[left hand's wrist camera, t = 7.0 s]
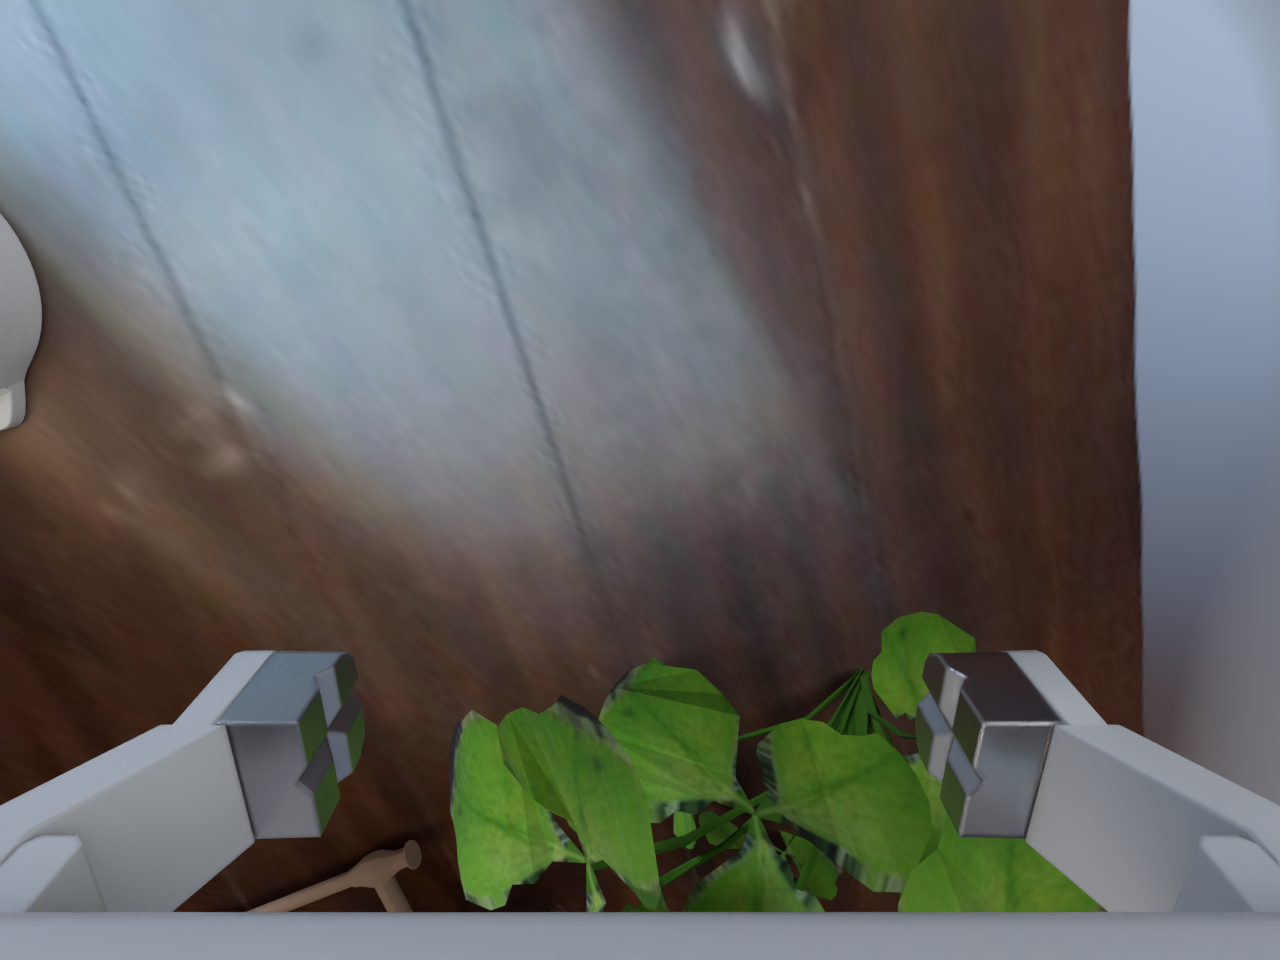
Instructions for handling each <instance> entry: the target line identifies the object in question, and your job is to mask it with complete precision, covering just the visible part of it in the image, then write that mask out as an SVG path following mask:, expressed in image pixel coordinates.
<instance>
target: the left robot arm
mask: <svg viewBox="0 0 1280 960" xmlns="http://www.w3.org/2000/svg"><path fill="white" fill-rule="evenodd" d="M41 327H42V305H41V297H40V291H39V287H38V283H37V279H36V276H35V273H34V270H33V267H32V265H31V262H30V260H29V258H28V256H27V253H26V251H25V250H24V248H23V246H22V244H21V242H20V240H19V239H18V237H17V235H16V234H15V232H14V231H13V229H12V228H11V226H10V225H9V224H8V222H7V221H6V220H5V218H4V217H3V216H2V215H1V213H0V430H4V429H9V428H13V427H16V426H18V425H20V424H21V423H22V422H23V420H24V417H25V411H26V397H25V383H24V380H25V376H26V372H27V370H28V367H29V365H30V363H31V361H32V359H33V356H34V354H35V352H36V349H37V346H38V343H39V339H40V334H41ZM357 679H358V675H357V670H356V665H355V660H354V657H352V656H351V655H350V654H349V653H348V652H317V651H278V652H277V651H242V652H239V653H236V654H234V655H233V656H232V658H231V659H230V660H229V661H228V662H227V663H226V664H225V666H224V667H223V668H222V669H221V670H220V671H219V672H218V674H217V675H216V676H215V677H214V678H213V679H212V680H211V682H210V683H209V684H208V685H207V686H206V687H205V688H204V689H203V691H202V692H201V693H200V694H199V695H198V696H197V697H196V699H195V700H194V701H193V702H192V703H191V704H190V705H189V707H188V708H187V709H186V710H185V711H184V712H183V713H182V714H181V716H180V717H179V718H178V719H177V720H176V721H175V722H174V724H173V725H160V726H158V727H156V728H154V729H152V730H150V731H148V732H146V733H144V734H142V735H140V736H138V737H136V738H134V739H132V740H130V741H128V742H126V743H124V744H122V745H120V746H118V747H116V748H114V749H112V750H110V751H108V752H106V753H104V754H102V755H100V756H98V757H96V758H94V759H92V760H90V761H88V762H86V763H84V764H82V765H80V766H78V767H76V768H74V769H72V770H70V771H68V772H66V773H64V774H62V775H60V776H58V777H56V778H54V779H52V780H50V781H48V782H46V783H44V784H42V785H40V786H38V787H36V788H34V789H32V790H30V791H29V792H27V793H25V794H23V795H21V796H19V797H17V798H15V799H13V800H11V801H9V802H7V803H5V804H3V805H1V806H0V960H1280V806H1279V805H1277V804H1275V803H1273V802H1271V801H1269V800H1267V799H1265V798H1263V797H1261V796H1259V795H1257V794H1255V793H1253V792H1251V791H1249V790H1247V789H1245V788H1243V787H1241V786H1239V785H1237V784H1235V783H1233V782H1231V781H1229V780H1227V779H1225V778H1223V777H1221V776H1219V775H1217V774H1215V773H1213V772H1212V771H1209V770H1208V769H1206V768H1204V767H1202V766H1200V765H1198V764H1196V763H1194V762H1192V761H1190V760H1188V759H1186V758H1184V757H1182V756H1180V755H1178V754H1176V753H1174V752H1172V751H1170V750H1168V749H1166V748H1164V747H1162V746H1160V745H1158V744H1156V743H1154V742H1152V741H1150V740H1148V739H1146V738H1144V737H1142V736H1140V735H1138V734H1136V733H1134V732H1132V731H1130V730H1128V729H1126V728H1124V727H1122V726H1120V725H1107V724H1106V722H1105V721H1104V720H1103V719H1102V718H1101V717H1100V716H1099V715H1098V713H1097V712H1096V711H1095V710H1094V709H1093V708H1092V707H1091V705H1090V704H1089V703H1088V702H1087V701H1086V700H1085V699H1084V697H1083V696H1082V695H1081V694H1080V693H1079V692H1078V691H1077V689H1076V688H1075V687H1074V686H1073V685H1072V684H1071V683H1070V682H1069V680H1068V679H1067V678H1066V677H1065V676H1064V675H1063V674H1062V672H1061V671H1060V670H1059V669H1058V668H1057V667H1056V666H1055V664H1054V663H1053V662H1052V661H1051V660H1050V659H1049V658H1048V657H1047V655H1046V654H1044V653H1042V652H1040V651H1038V650H1024V651H1001V652H968V653H929V655H928V657H927V659H926V661H925V663H924V669H923V674H922V679H923V681H924V682H925V684H926V686H927V688H928V689H929V691H930V692H929V693H928V694H927V695H926V696H925V697H924V698H923V699H922V700H921V701H920V702H919V703H918V704H917V711H916V719H915V731H916V743H917V747H918V750H919V754H920V757H921V760H922V762H923V764H924V766H925V768H926V771H927V772H928V773H929V774H930V775H932V776H933V777H935V778H936V779H938V780H939V781H940V782H942V787H941V792H940V799H941V801H942V803H943V805H944V807H945V809H946V811H947V813H948V815H949V817H950V819H951V821H952V823H953V825H954V827H955V829H956V831H957V833H958V835H959V837H980V838H1016V839H1026V840H1025V842H1026V843H1027V844H1028V845H1029V846H1031V847H1032V848H1033V849H1034V850H1035V851H1037V852H1038V853H1039V854H1040V855H1041V856H1043V857H1044V858H1045V859H1046V860H1047V861H1048V862H1050V863H1051V864H1052V865H1053V866H1054V867H1056V868H1057V869H1058V870H1059V871H1060V872H1061V873H1063V874H1064V875H1065V876H1066V877H1067V878H1069V879H1070V880H1071V881H1072V882H1073V883H1074V884H1076V885H1077V886H1078V887H1079V888H1080V889H1082V890H1083V891H1084V892H1085V893H1086V894H1088V895H1089V896H1090V897H1091V898H1092V899H1093V900H1095V901H1096V902H1097V903H1098V904H1099V905H1101V906H1102V907H1103V908H1104V909H1105V910H1106V911H1108V912H173V911H174V910H175V909H176V908H177V907H178V906H180V905H181V904H182V903H183V902H184V901H186V900H187V899H188V898H189V897H190V896H192V895H193V894H194V893H195V892H196V891H197V890H199V889H200V888H201V887H202V886H203V885H205V884H206V883H207V882H208V881H209V880H211V879H212V878H213V877H214V876H215V875H216V874H218V873H219V872H220V871H221V870H222V869H224V868H225V867H226V866H227V865H228V864H230V863H231V862H232V861H233V860H234V859H235V858H237V857H238V856H239V855H240V854H241V853H243V852H244V851H245V850H246V849H247V848H249V847H250V846H251V845H252V844H253V843H254V842H255V841H254V839H264V838H298V837H321V835H322V833H323V831H324V829H325V827H326V825H327V823H328V821H329V819H330V817H331V815H332V813H333V811H334V809H335V807H336V805H337V803H338V801H339V799H340V792H339V787H338V782H340V781H341V780H342V779H344V778H345V777H347V776H348V775H350V774H351V773H352V772H353V771H354V768H355V766H356V764H357V762H358V760H359V758H360V755H361V750H362V745H363V741H364V736H365V717H364V710H363V704H362V703H361V702H360V701H359V700H358V699H357V698H356V697H355V696H354V695H353V694H352V693H351V692H350V691H351V689H352V688H353V686H354V684H355V682H356V681H357Z"/></svg>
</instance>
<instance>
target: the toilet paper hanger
mask: <svg viewBox="0 0 1280 960" xmlns="http://www.w3.org/2000/svg"><path fill="white" fill-rule="evenodd" d="M420 863H421V851H420V848H419V845H418V844H417V843H416V842H415V841H414V840H409V841H407V842H406V843H405V846H404V848H401V849H399V850H384V849H381V850H377V851H374V852H372V853H370V854H368V855H367V856H365V857H364V858H362V859H361V860H360V862H359V863H358V864H357V865H355V866H354V867H353V868H351V869H350V870H349V871H348V872H346V873H343V874H341V875H338V876H336V877H333V878H331V879H328V880H326V881H323V882H321V883H318V884H315V885H313V886H310V887H308V888H305V889H303V890H300V891H298V892H295V893H293V894H290V895H288V896H285V897H283V898H280V899H278V900H275V901H272V902H270V903H267V904H265V905H262V906H260V907H257V908H255V909H252V910H250V911H247V912H288V911H290V910H293V909H295V908H298V907H301V906H303V905H306V904H308V903H311V902H313V901H316V900H318V899H321V898H324V897H326V896H329V895H331V894H334V893H336V892H339V891H342V890H344V889H347V888H349V887H370V888H373V887H375V889H376V891H377V893H378V895H379V897H380V899H381V901H382V902H383V904H384V906H385V908H386V910H387V912H413V911H412V909H411V907H410V905H409V903H408V901H407V899H406V897H405V896H404V894H403V892H402V890H401V888H400V886H399V884H398V883H397V881H396V879H395V877H394V875H395V874H396V873H397V872H398V871H399V870H401V869H403V868H406V867H409V868H410V869H416V868H418V867H419V866H420Z"/></svg>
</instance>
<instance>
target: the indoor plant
mask: <svg viewBox="0 0 1280 960" xmlns="http://www.w3.org/2000/svg"><path fill="white" fill-rule="evenodd" d="M968 652H976V646H975V638H973V637H972V636H970V635H969V634H967V633H966V632H964V631H963V630H961V629H960V628H958V627H957V626H955V625H954V624H952V623H951V622H949V621H947V620H946V619H944V618H943V617H941V616H940V615H938V614H932V613H925V612H919V613H915V614H911V615H907V616H903V617H899V618H897V619H896V620H895V621H894V622H893V623H891V624H890V625H889V626H888V627H886V628H885V629H884V630H883V631H882V652H881V653H880V654H879V655H878V657H877V658H876V659H875V660H874V661H873V667H872V673H871V675H872V682H873V688H874V689H875V691H876V692H877V694H878V695H879V696H880V698H881V699H882V700H883V702H884V703H885V704H886V706H887V707H888V708H889V710H890V711H891V712H892V714H893V715H894V716H895V718H896V719H898V718H899V717H900V716H902V715H903V714H904V713H905V712H906V714H907V716H908V719H909V720H910V719H913V718H916V711H917V704H918V703H919V702H920V701H921V700H922V699H923V698H924V697H925V696H926V695H927V694H928V693H929V692H930V691H929V689H928V688H927V686H926V684H925V682H924V681H923V679H922V674H923V669H924V663H925V661H926V659H927V657H928V655H929V653H968ZM849 687H850V688H849ZM847 688H849V690H848V692H847V694H846V695H845V697H844V699H843V700H842V702H841V703H840V705H839V707H838V708H837V710H836V711H835V713H834V715H833V716H832V718H831V719H830V721H829V723H828V724H825V723H824V722H820V721H812V720H810V719H812V718H813V717H814V716H815V715H816V714H818V713H819V712H820V711H821V710H822V709H824V708H825V707H826V706H827V705H828V704H830V703H831V702H832V701H833V700H834V699H835V698H837V697H838V696H839V695H840V694H841V693H843V692H844V691H845V690H846V689H847ZM877 713H878V715H877ZM870 716H871V718H870ZM739 717H740V716H739V715H738V713H737V712H736V711H735V710H734V708H733V707H732V706H731V704H730V703H729V702H728V701H727V699H726V698H725V697H724V695H723V694H722V693H721V692H720V691H719V690H718V689H717V688H715V687H714V686H713V685H712V684H711V683H710V682H709V681H708V680H707V679H706V678H705V677H704V676H703V675H702V674H701V673H700V672H699V671H697V670H694V669H686V668H679V667H671V666H664V665H663V664H662V662H661V661H660V660H657V659H655V658H653V657H651V659H650V661H649V663H645V664H643V665H641V666H639V667H636V668H634V669H632V670H630V671H628V672H627V673H626V674H625V675H624V676H623V677H622V678H621V679H620V680H619V681H618V682H617V684H616V685H615V686H614V687H613V688H612V690H611V692H610V694H609V695H608V697H607V699H606V700H605V702H604V704H603V707H602V710H601V713H600V716H599V719H597V718H595V717H594V716H593V715H592V714H591V713H590V712H589V711H587V710H586V709H585V708H584V707H582V706H580V705H578V704H577V703H575V702H573V701H571V700H569V699H568V698H566V697H564V696H562V695H561V696H560V697H559V698H558V700H557V701H556V702H555V704H554V705H553V706H551V707H550V708H548V709H546V710H545V711H543V712H541V713H540V714H538V713H535V712H533V711H530V710H528V709H526V708H523V707H521V708H519V709H517V710H515V711H512V712H510V713H508V714H507V715H506V716H505V718H504V719H503V720H502V722H501V723H500V724H499V725H498V726H497V725H495V724H494V723H492V722H491V721H489V720H487V719H486V718H484V717H483V716H481V715H479V714H478V713H476V712H475V711H473V710H472V711H471V712H470V713H469V714H467V715H466V716H465V717H464V718H463V719H462V720H461V721H460V722H459V723H458V724H457V725H456V726H455V729H454V734H453V738H452V743H451V757H450V812H451V816H452V819H453V823H454V829H455V834H456V839H457V854H458V864H459V870H460V876H461V882H462V886H463V890H464V893H465V897H466V900H468V901H470V902H473V903H475V904H477V905H480V906H482V907H484V908H487V909H489V910H493V909H496V908H499V907H502V906H504V905H505V904H506V901H507V898H508V895H509V892H510V890H511V887H512V885H514V884H533V883H535V882H536V881H537V880H538V878H539V877H540V876H541V875H542V873H543V872H544V871H545V870H546V868H547V867H548V866H549V865H550V863H551V862H552V861H558V862H577V863H586V890H587V912H603V909H604V907H605V904H606V901H605V899H604V896H603V894H602V891H601V889H600V886H599V884H598V881H597V879H596V876H595V874H594V871H595V870H598V869H602V868H606V867H610V868H611V869H612V870H613V871H614V872H615V873H616V874H617V875H618V876H619V877H620V878H621V879H622V880H623V881H624V882H625V883H626V884H627V885H628V886H629V887H630V888H631V889H632V891H633V892H634V893H635V894H636V895H637V897H638V898H639V899H640V901H641V902H640V904H639V906H638V908H637V909H636V908H635V907H633V906H632V905H630V904H629V903H628V904H627V905H626V906H625V907H624V908H623V912H669V909H668V905H667V902H666V899H665V896H664V893H663V889H662V886H664V885H666V884H668V883H670V882H671V881H673V880H675V879H676V878H678V877H680V876H682V875H683V874H685V873H687V872H689V871H690V870H692V869H694V868H695V867H697V866H699V865H701V864H702V863H704V862H706V861H708V860H709V859H711V858H713V857H714V856H716V855H718V854H720V853H721V852H723V851H725V850H727V849H742V850H741V851H740V852H738V853H737V854H735V855H734V856H733V857H731V858H730V859H729V860H727V861H726V862H725V863H723V864H722V865H721V866H719V867H718V868H716V869H715V870H714V871H712V872H711V873H710V874H708V875H707V876H706V877H704V878H703V879H702V880H700V881H699V882H697V883H696V884H695V886H694V888H693V890H692V892H691V894H690V896H689V898H688V900H687V902H686V904H685V906H684V908H683V910H682V912H825V911H824V909H823V908H822V906H821V904H820V903H819V901H818V899H817V897H821V898H824V899H828V900H832V899H833V898H834V897H835V896H836V894H837V887H836V884H835V881H836V879H837V878H838V876H839V873H838V871H837V869H836V867H835V865H834V863H833V861H834V862H835V863H836V864H838V865H839V866H840V867H841V868H842V869H844V870H845V871H846V872H847V873H849V874H850V875H851V876H853V877H854V878H855V879H857V880H858V881H860V882H861V883H862V884H864V885H865V886H866V887H868V888H869V889H871V890H872V891H873V892H899V894H900V901H899V904H898V912H1108V911H1106V910H1105V909H1104V908H1103V907H1102V906H1101V905H1099V904H1098V903H1097V902H1096V901H1095V900H1093V899H1092V898H1091V897H1090V896H1089V895H1088V894H1086V893H1085V892H1084V891H1083V890H1082V889H1080V888H1079V887H1078V886H1077V885H1076V884H1074V883H1073V882H1072V881H1071V880H1070V879H1069V878H1067V877H1066V876H1065V875H1064V874H1063V873H1061V872H1060V871H1059V870H1058V869H1057V868H1056V867H1054V866H1053V865H1052V864H1051V863H1050V862H1048V861H1047V860H1046V859H1045V858H1044V857H1043V856H1041V855H1040V854H1039V853H1038V852H1037V851H1035V850H1034V849H1033V848H1032V847H1031V846H1029V845H1028V844H1027V843H1026V842H1025V840H1026V839H1016V838H980V837H959V835H958V833H957V831H956V829H955V827H954V825H953V823H952V821H951V819H950V817H949V815H948V813H947V811H946V809H945V807H944V805H943V803H942V801H941V799H940V792H941V787H942V782H940V781H939V780H938V779H936V778H935V777H933V776H932V775H930V774H929V773H928V772H927V771H926V768H925V766H924V764H923V762H922V760H921V757H920V754H919V752H918V753H917V754H912V755H907V756H901V754H900V753H899V752H898V751H897V750H896V749H895V747H894V745H893V743H892V741H891V738H890V736H889V733H888V731H887V729H886V728H888V729H889V730H891V731H892V732H894V733H895V734H897V735H898V736H900V737H903V738H908V739H916V735H913V734H908V733H904V732H902V731H901V730H899V729H898V728H896V727H895V726H893V725H892V724H891V723H889V722H888V721H886V720H885V719H883V718H882V716H881V714H880V712H879V709H878V707H877V704H876V702H875V700H874V697H873V695H872V692H871V688H870V684H869V672H865V670H863V668H862V669H861V670H860V669H858V671H855V675H854V676H853V677H851V678H850V679H849V680H848V681H847V682H846V683H845V684H843V685H842V686H841V687H840V688H839V689H838V690H836V691H835V692H834V693H833V694H832V695H831V696H830V697H828V698H827V699H826V700H825V701H824V702H823V703H821V704H820V705H819V706H818V707H817V708H816V709H815V710H813V711H812V712H811V713H810V714H809V715H808V716H806V717H803V718H799V719H796V720H792V721H789V722H785V723H780V724H778V725H775V726H771V727H768V728H765V729H761V730H758V731H754V732H751V733H747V734H744V735H740V736H738V732H739ZM871 719H872V724H873V729H874V734H872V726H871ZM880 723H881V724H882V726H883V729H884V732H885V734H886V737H887V740H888V742H889V743H888V742H887V740H886V738H885V736H884V734H883V732H882V730H881V727H880ZM769 732H770V733H769ZM766 733H769V734H768V735H767V736H766V737H765V738H764V739H763V740H762V741H760V742H759V743H758V746H757V750H756V756H757V758H758V761H759V763H760V765H761V767H762V769H763V771H764V773H765V775H764V776H763V777H761V778H760V780H761V781H762V782H763V783H764V784H765V785H766V786H767V787H768V788H769V790H768V791H766V792H764V793H762V794H760V795H758V796H756V797H755V798H753V799H751V800H748V798H747V796H746V795H745V793H744V791H743V790H742V788H741V786H740V784H739V783H738V781H737V779H736V763H737V747H738V742H739V741H743V740H746V739H749V738H753V737H756V736H759V735H763V734H766ZM854 734H855V735H854ZM713 801H714V802H717V803H720V804H723V805H726V806H729V807H732V808H734V809H732V810H730V811H728V812H727V813H725V814H723V815H721V816H718V815H717V814H715V813H714V812H710V811H704V812H702V813H701V814H700V815H699V823H700V825H701V827H699V828H697V829H696V825H695V818H694V815H695V814H697V813H698V812H700V811H701V810H702V809H704V808H705V807H707V806H708V805H709V804H711V803H712V802H713ZM760 803H761V804H760ZM759 804H760V805H759ZM757 805H759V806H758V808H757V809H756V810H754V809H753V807H755V806H757ZM745 812H747V813H750V814H752V817H751V818H750V819H749V820H748V821H747V822H746V823H744V824H743V825H742V826H741V827H740V828H737V827H736V826H735V825H734V824H732V823H731V822H729V821H731V820H732V819H734V818H736V817H738V816H739V815H741V814H743V813H745ZM552 813H554V814H556V815H558V816H561V817H563V818H565V819H567V822H568V824H569V826H570V827H571V828H572V829H573V830H574V831H575V832H576V833H577V834H578V837H579V840H580V843H581V846H582V850H583V853H584V856H585V857H584V856H583V854H582V853H581V852H580V851H579V850H578V848H577V847H576V846H575V845H574V844H573V842H572V841H571V840H570V839H569V838H568V836H567V835H566V834H565V833H564V832H563V830H562V829H561V828H560V827H559V826H558V824H557V823H556V822H555V819H554V816H553V814H552ZM672 813H674V834H675V835H676V836H677V837H675V838H672V839H668V840H664V841H661V842H657V843H653V836H652V830H651V823H661V822H662V821H663V820H664V819H666V818H667V817H668V816H670V815H671V814H672ZM761 818H762V819H766V820H771V821H775V822H779V823H783V824H788V825H790V826H791V827H793V828H794V829H795V830H796V831H795V833H794V835H792V834H790V833H787V832H783V831H780V829H779V832H780V834H781V837H782V839H783V841H784V843H785V845H786V848H787V849H785V850H784V852H783V851H781V850H780V849H778V848H777V847H776V846H774V845H773V844H772V843H771V841H770V838H769V836H768V834H767V832H766V830H765V828H764V826H763V824H762V822H761ZM747 830H748V831H747ZM746 831H747V834H746V835H745V834H744V833H745V832H746ZM798 832H799V833H800V834H801V835H802V836H803V837H805V838H806V839H807V840H806V839H803V838H800V837H798V836H796V835H797V834H798ZM703 836H706V838H707V840H708V842H709V843H710V844H713V845H716V846H715V847H713V848H711V849H710V850H708V851H706V852H704V853H702V854H700V855H699V856H697V857H695V858H693V859H691V860H690V861H688V862H686V863H684V864H682V865H681V866H679V867H677V868H675V869H673V870H671V871H670V872H668V873H666V874H664V875H662V876H661V877H659V876H658V870H657V863H656V856H655V854H659V853H663V852H667V851H670V850H674V849H678V848H682V847H686V848H687V849H693V847H694V844H695V842H696V840H698V839H699V838H701V837H703ZM775 850H776V851H780V852H783V853H781V854H780V855H778V854H777V853H776V851H775ZM785 854H787V855H789V856H790V857H792V859H793V861H794V863H795V865H796V867H797V869H798V871H799V873H800V876H799V879H797V878H796V877H795V876H794V874H793V873H792V872H791V867H790V864H788V862H787V859H786V856H785ZM832 860H833V861H832ZM591 864H592V865H591ZM661 884H662V886H661ZM805 886H806V887H807V889H808V891H809V893H810V894H809V893H808V892H807V890H806V889H805ZM816 896H817V897H816Z"/></svg>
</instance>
